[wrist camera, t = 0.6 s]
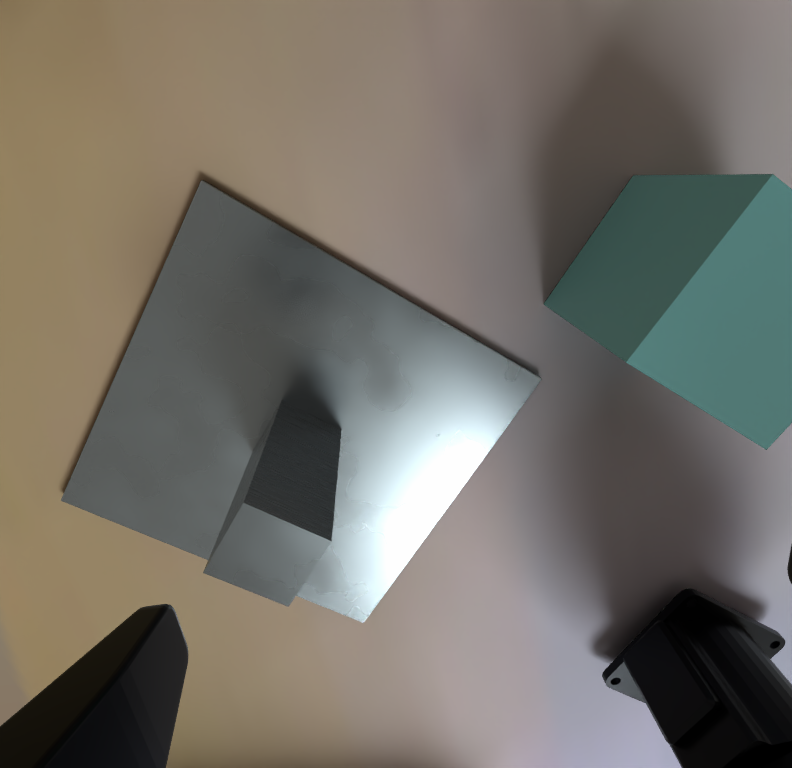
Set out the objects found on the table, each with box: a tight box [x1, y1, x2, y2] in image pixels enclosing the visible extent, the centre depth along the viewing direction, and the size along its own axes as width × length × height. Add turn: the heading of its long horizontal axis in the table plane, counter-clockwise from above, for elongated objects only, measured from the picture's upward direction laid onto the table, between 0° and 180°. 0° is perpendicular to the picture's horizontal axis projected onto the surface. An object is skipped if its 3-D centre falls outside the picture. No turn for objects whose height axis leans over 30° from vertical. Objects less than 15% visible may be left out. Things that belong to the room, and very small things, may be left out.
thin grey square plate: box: [61, 180, 542, 623], centre depth 18 cm, size 14×14×7 cm
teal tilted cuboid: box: [544, 174, 792, 450], centre depth 16 cm, size 5×5×7 cm
